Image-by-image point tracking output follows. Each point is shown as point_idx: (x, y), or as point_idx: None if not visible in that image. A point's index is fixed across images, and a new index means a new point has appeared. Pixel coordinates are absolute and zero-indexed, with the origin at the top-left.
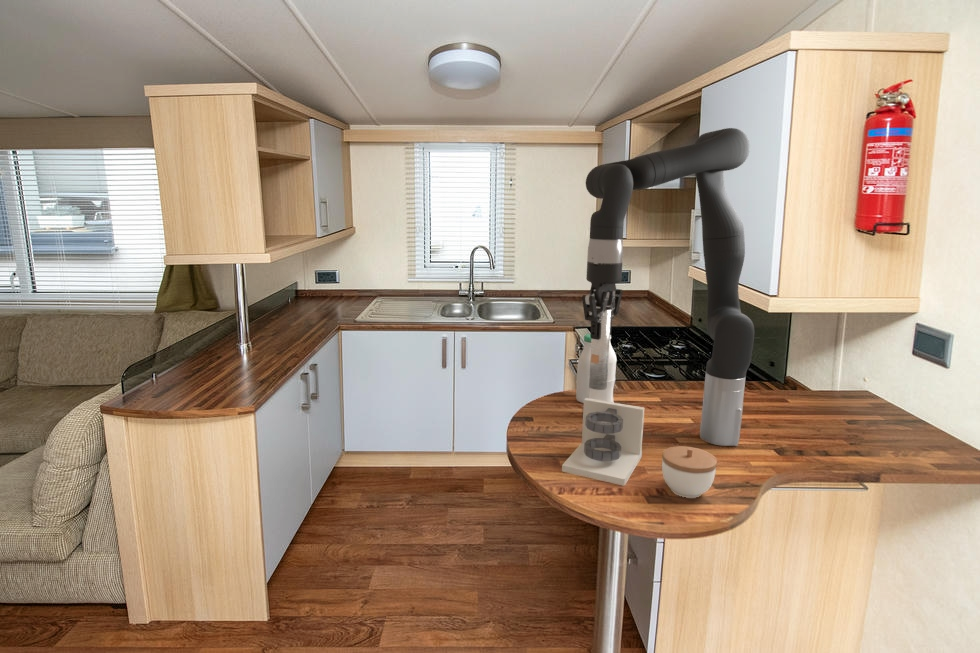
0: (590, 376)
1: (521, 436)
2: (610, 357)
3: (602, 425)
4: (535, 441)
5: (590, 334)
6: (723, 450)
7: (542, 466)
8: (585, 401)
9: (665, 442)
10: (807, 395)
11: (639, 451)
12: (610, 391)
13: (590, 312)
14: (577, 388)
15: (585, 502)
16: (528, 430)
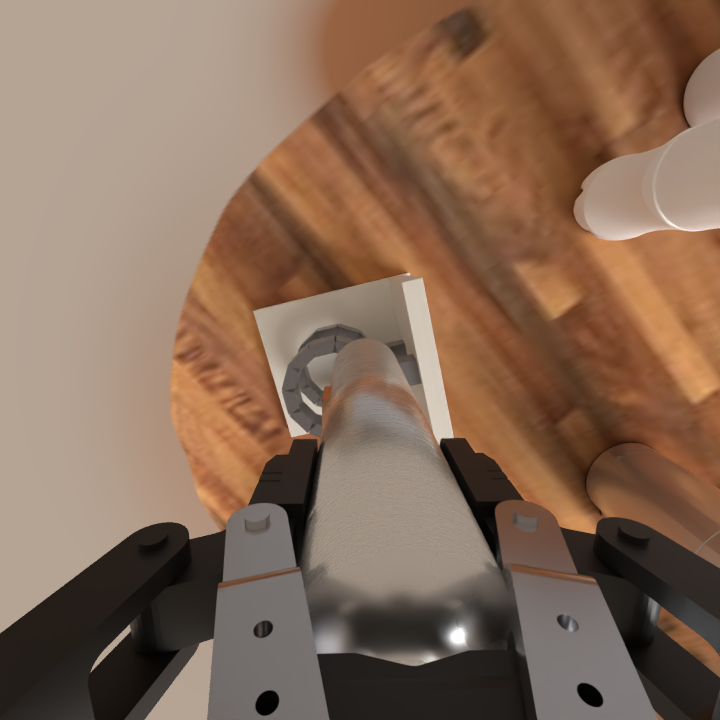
0: (336, 364)
1: (347, 109)
2: None
3: (288, 410)
4: (346, 161)
5: (266, 463)
6: (568, 503)
7: (246, 262)
8: (402, 288)
9: (539, 403)
10: None
11: None
12: (655, 227)
13: (223, 578)
14: None
15: (188, 410)
16: (394, 97)
